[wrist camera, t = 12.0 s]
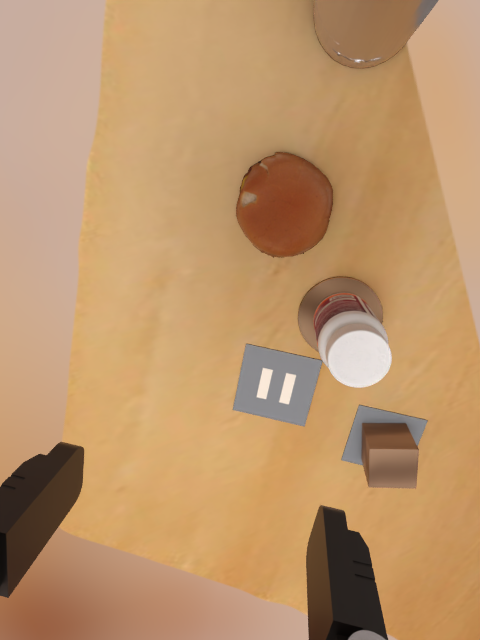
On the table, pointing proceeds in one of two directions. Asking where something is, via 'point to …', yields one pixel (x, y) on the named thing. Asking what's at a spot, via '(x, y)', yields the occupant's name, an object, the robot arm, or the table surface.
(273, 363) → the code tile
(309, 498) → the table surface
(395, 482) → the walnut block
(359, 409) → the code tile
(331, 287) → the coaster
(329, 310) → the pill bottle
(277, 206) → the burger
